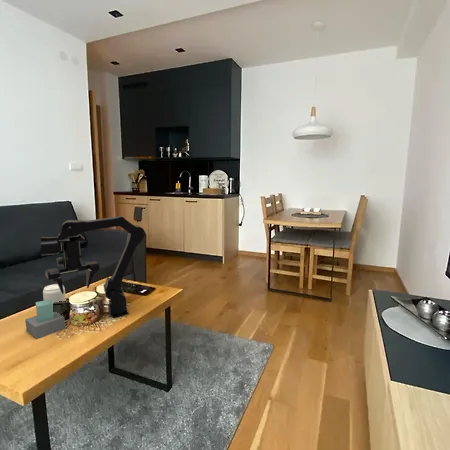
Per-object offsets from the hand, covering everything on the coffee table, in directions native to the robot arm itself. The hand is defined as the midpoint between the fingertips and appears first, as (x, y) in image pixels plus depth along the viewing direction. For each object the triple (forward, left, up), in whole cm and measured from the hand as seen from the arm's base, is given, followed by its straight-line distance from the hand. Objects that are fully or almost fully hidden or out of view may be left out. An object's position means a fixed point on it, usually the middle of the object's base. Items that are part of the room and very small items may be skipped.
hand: (75, 290), depth 118 cm
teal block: (+11, -1, -8) cm, 14 cm away
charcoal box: (+11, -1, -13) cm, 17 cm away
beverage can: (+5, -14, -13) cm, 20 cm away
